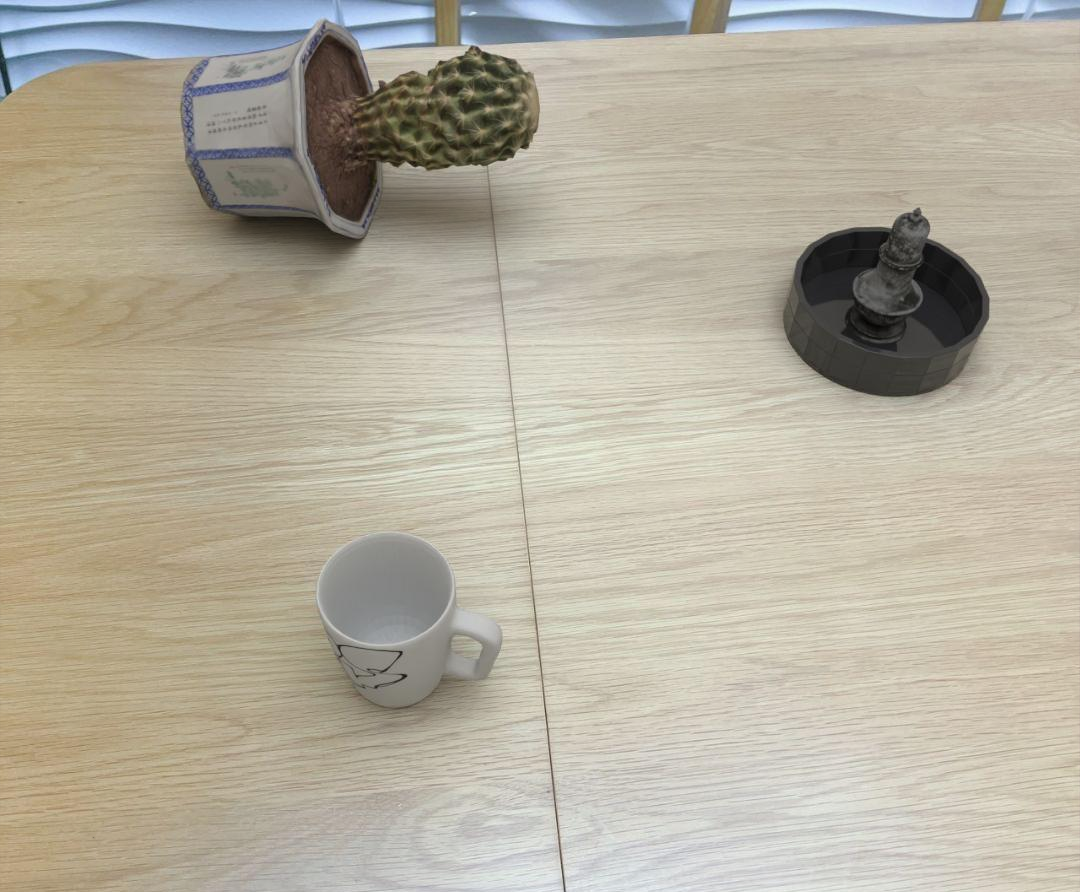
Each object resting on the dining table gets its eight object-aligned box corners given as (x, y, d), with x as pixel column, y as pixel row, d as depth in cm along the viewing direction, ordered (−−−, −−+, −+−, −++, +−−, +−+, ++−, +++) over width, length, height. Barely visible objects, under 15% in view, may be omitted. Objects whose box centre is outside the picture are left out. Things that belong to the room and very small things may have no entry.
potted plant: (130, 112, 86) (499, 57, 79) (200, 5, 97) (528, -51, 90) (224, 291, 99) (547, 258, 92) (276, 179, 110) (567, 141, 103)
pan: (865, 243, 102) (879, 203, 98) (1008, 340, 95) (1029, 301, 91) (744, 316, 96) (754, 276, 92) (888, 426, 88) (904, 387, 85)
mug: (516, 638, 76) (518, 555, 68) (485, 747, 71) (483, 672, 63) (358, 604, 77) (342, 518, 69) (316, 708, 72) (294, 630, 64)
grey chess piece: (839, 296, 97) (877, 181, 87) (906, 302, 97) (952, 187, 87) (844, 343, 93) (884, 228, 84) (913, 349, 93) (961, 235, 83)
